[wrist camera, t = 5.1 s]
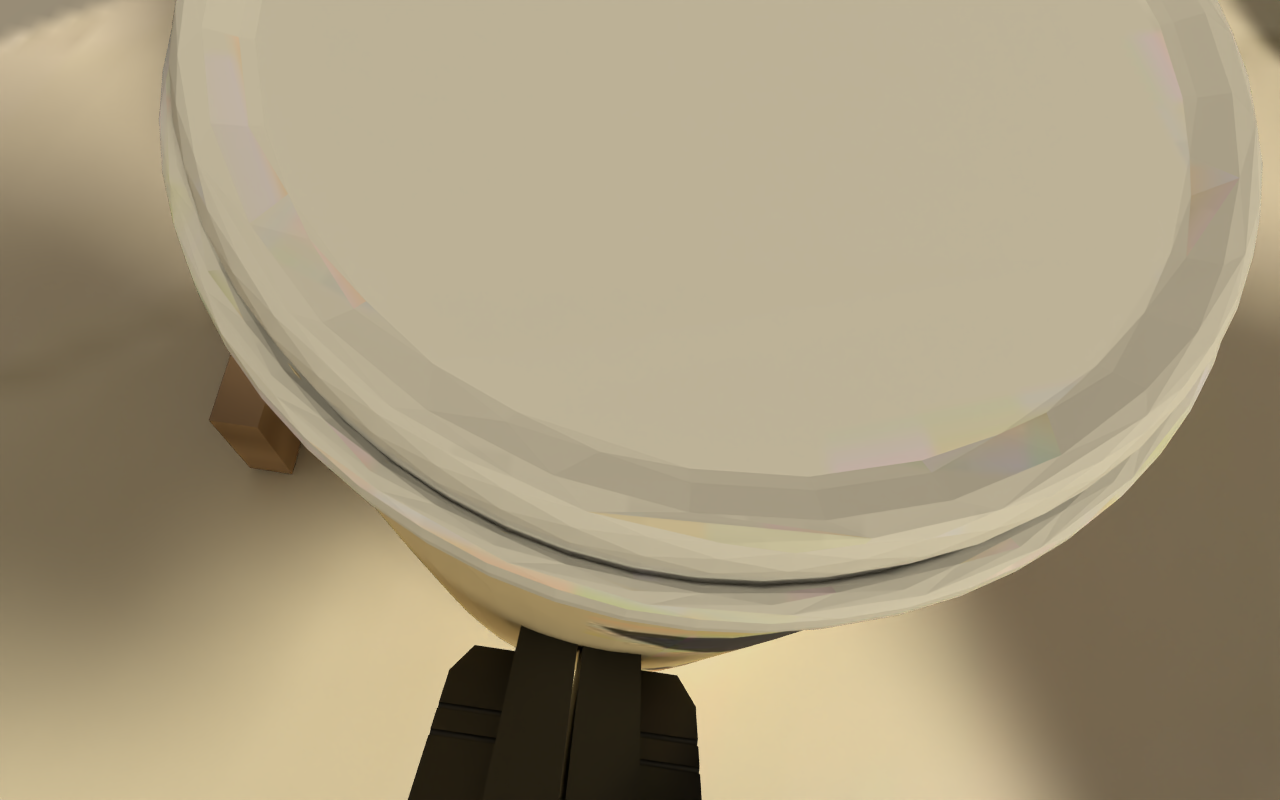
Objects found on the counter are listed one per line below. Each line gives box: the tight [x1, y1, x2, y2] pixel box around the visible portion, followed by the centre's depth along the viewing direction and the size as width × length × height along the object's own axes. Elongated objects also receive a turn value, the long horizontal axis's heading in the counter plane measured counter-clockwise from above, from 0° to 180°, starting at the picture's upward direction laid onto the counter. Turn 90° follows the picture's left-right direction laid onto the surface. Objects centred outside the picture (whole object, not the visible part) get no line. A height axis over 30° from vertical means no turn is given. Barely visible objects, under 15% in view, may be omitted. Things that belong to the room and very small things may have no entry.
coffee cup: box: [159, 0, 1263, 672], centre depth 13 cm, size 9×9×12 cm
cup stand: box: [209, 355, 301, 474], centre depth 19 cm, size 9×13×2 cm
